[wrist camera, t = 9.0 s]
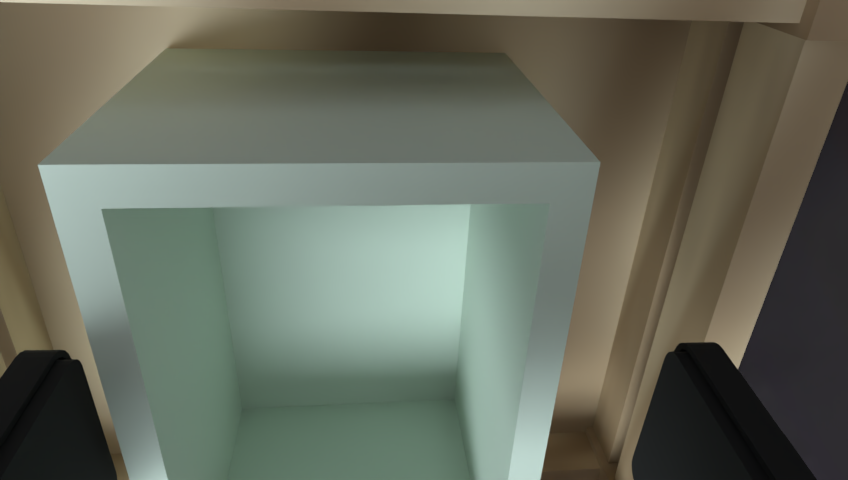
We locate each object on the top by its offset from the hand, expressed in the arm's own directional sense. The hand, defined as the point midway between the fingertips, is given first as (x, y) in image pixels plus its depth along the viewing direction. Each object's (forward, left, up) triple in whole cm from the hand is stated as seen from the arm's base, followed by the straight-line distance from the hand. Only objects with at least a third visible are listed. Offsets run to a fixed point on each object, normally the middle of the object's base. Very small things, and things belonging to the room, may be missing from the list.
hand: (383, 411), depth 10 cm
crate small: (+1, +1, -6) cm, 6 cm away
